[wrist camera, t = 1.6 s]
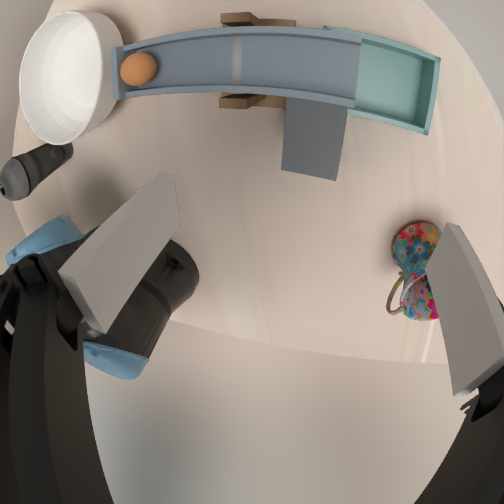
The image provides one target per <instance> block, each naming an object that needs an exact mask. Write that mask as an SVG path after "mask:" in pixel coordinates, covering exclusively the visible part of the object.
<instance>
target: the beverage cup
mask: <svg viewBox="0 0 504 504" xmlns="http://www.w3.org/2000/svg"><path fill="white" fill-rule="evenodd" d="M72 155H73V147H72V144H71V142H70V143H67V144H64V145H53V144H49V143H47V144H44V145H42V146H40V147H38V148H35V149H33V150H31V151H29V152H27V153H25V154H21V155H18V156H16V157H15V156H14V157H12V158H11V159H10V160H9V161H8V162H7V163H6V164H5V165H4V167H3V169H2V171H1V173H0V191H1V193H2V195H3V196H4V197H5V198H7V199H9V200H12V201H16V200H21V199H23V198H25V197H27V196H29V195H30V193H31V192H32V191H33V190H34V189H35V188H36V186H37V185H38V184H39V183H40V182H42V181H43V180H44V179H45V178H46V177H48V176H49V175H50V174H51V173H52V172H54V171H55V170H56V169H57V168H59V167H60V166H61V165H62V164H64V163H65V162H66V161H67V160H68V159H70V158H71V157H72Z"/></svg>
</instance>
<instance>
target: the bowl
mask: <svg viewBox="0 0 504 504" xmlns="http://www.w3.org/2000/svg"><path fill="white" fill-rule="evenodd" d="M120 46H124V44H123V40H122V37H121V34H120V32H119V30H118V28H117V26H116V25H115V23H114V22H113V21H112V20H111V19H110V18H109V17H107V16H105V15H103V14H101V13H97V12H91V11H81V10H70V11H64V12H60V13H58V14H56V15H54V16H52V17H50V18H49V19H48V20H46V21H45V22H44V23H43V24H42V25H41V26H40V27H39V28H38V29H37V31H36V32H35V33H34V35H33V37H32V38H31V40H30V42H29V44H28V46H27V48H26V50H25V53H24V56H23V59H22V63H21V68H20V76H19V95H20V101H21V106H22V110H23V113H24V116H25V118H26V120H27V122H28V124H29V126H30V127H31V129H32V130H33V132H34V133H35V134H36V135H37V136H38V137H39V138H40V139H42V140H43V141H45V142H46V143H49V144H53V145H64V144H67V143H70V142H72V141H74V140H76V139H77V138H79V137H81V136H83V135H84V134H86V133H88V132H89V131H91V130H92V129H94V128H96V127H98V126H99V125H100V124H101V123H102V122H103V121H104V120H105V119H106V118H107V116H108V115H109V114H110V112H111V111H112V109H113V107H114V105H115V103H116V101H117V100H115V101H114V96H113V84H112V67H111V48H114V47H120Z"/></svg>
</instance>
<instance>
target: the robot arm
mask: <svg viewBox="0 0 504 504" xmlns="http://www.w3.org/2000/svg"><path fill="white" fill-rule="evenodd" d="M179 227H180V220H179V213H178V205H177V196H176V188H175V178H174V174H163V173H159V174H158V175H157V176H155V177H154V178H153V179H152V180H151V181H149V182H148V183H147V184H146V185H145V186H144V187H142V188H141V189H140V190H139V191H138V192H137V193H135V194H134V195H133V196H132V197H131V198H130V199H129V200H127V201H126V202H125V203H124V204H123V205H122V206H121V207H120V208H119V209H118V210H116V211H115V212H114V213H113V214H112V215H111V216H110V217H109V218H108V219H107V220H106V221H105V222H104V223H103V224H102V225H99V226H98V227H96V228H94V229H93V230H91V231H90V232H88V233H87V234H86V235H85V234H82V233H81V231H80V230H79V229H78V228H77V226H76V225H75V224H74V223H73V221H72V220H71V219H70V218H69V217H67V216H58V217H56V218H54V219H52V220H51V221H49V222H48V223H46V224H45V225H43V226H42V227H40V228H39V229H37V230H36V231H35V232H33V233H32V234H31V235H29V236H28V237H27V238H25V239H24V240H23V241H22V242H21V243H19V244H18V245H17V246H16V247H15V248H14V249H13V250H12V251H10V252H9V253H8V254H7V256H6V261H7V264H8V265H10V267H9V268H8V269H7V270H6V272H5V273H4V274H3V275H0V504H114V503H113V500H112V497H111V494H110V491H109V489H108V485H107V482H106V479H105V476H104V472H103V469H102V465H101V461H100V458H99V454H98V450H97V445H96V441H95V436H94V432H93V426H92V421H91V415H90V409H89V403H88V395H87V387H86V378H85V366H84V361H85V362H87V363H89V364H90V365H92V366H94V367H95V368H97V369H99V370H101V371H103V372H105V373H108V374H110V375H112V376H115V377H118V378H121V379H126V380H132V379H135V378H137V377H138V376H139V375H140V373H141V372H142V370H143V368H144V367H145V365H146V363H147V362H148V361H149V357H150V355H151V353H152V351H153V349H154V347H155V345H156V343H157V341H158V339H159V337H160V335H161V333H162V331H163V329H164V327H165V325H166V323H167V321H168V319H169V317H170V316H171V314H172V313H173V312H174V311H175V310H176V309H177V308H178V307H179V306H181V305H182V304H183V303H184V302H185V301H186V300H187V299H189V298H190V297H191V296H192V294H193V293H194V291H195V289H196V287H197V285H198V281H199V274H198V270H197V267H196V265H195V263H194V261H193V260H192V258H191V257H190V256H189V255H188V254H187V252H186V251H185V250H183V249H182V248H181V247H180V246H179V245H177V244H176V243H174V242H173V241H171V240H170V239H171V237H172V236H173V235H174V233H175V232H176V231H177V229H178V228H179ZM425 272H426V275H427V278H428V281H429V284H430V288H431V291H432V294H433V298H434V301H435V305H436V308H437V312H438V316H439V320H440V324H441V328H442V333H443V337H444V342H445V347H446V352H447V357H448V363H449V369H450V375H451V382H452V390H453V396H464V395H468V394H470V393H471V392H472V391H474V390H475V389H476V388H478V390H479V394H478V395H477V396H475V397H474V398H472V399H471V400H469V401H468V402H467V403H465V404H464V405H462V407H461V408H460V410H463V409H465V408H466V407H467V406H469V405H470V408H469V409H467V410H466V411H465V412H464V413H465V414H467V415H466V417H465V419H464V422H463V424H462V426H461V428H460V430H459V432H458V434H457V436H456V438H455V440H454V442H453V444H452V446H451V448H450V449H449V451H448V453H447V455H446V457H445V458H444V460H443V462H442V463H441V465H440V467H439V468H438V470H437V472H436V473H435V475H434V476H433V478H432V479H431V481H430V482H429V484H428V485H427V487H426V488H425V489H424V491H423V492H422V494H421V495H420V497H419V498H418V499H417V500H416V502H415V503H414V504H504V307H503V304H502V303H501V302H500V300H499V299H498V297H497V296H496V293H495V291H494V289H493V287H492V284H491V282H490V280H489V278H488V276H487V274H486V272H485V270H484V268H483V266H482V264H481V262H480V260H479V258H478V257H477V255H476V253H475V251H474V249H473V248H472V246H471V244H470V242H469V241H468V239H467V237H466V236H465V234H464V232H463V231H462V229H461V227H460V226H458V225H455V224H451V223H448V222H447V224H446V226H445V228H444V230H443V233H442V235H441V237H440V239H439V241H438V243H437V245H436V247H435V249H434V251H433V253H432V255H431V257H430V259H429V261H428V263H427V265H426V267H425Z"/></svg>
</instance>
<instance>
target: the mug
mask: <svg viewBox="0 0 504 504" xmlns="http://www.w3.org/2000/svg"><path fill="white" fill-rule="evenodd" d="M441 235H442V234H441V232H440V231H439V229H438V228H436V227H435V226H434V225H432V224H429V223H415V224H412V225H410V226H408V227H406V228H404V229H403V230H402V231H401V232H400V233H399V234H398V235H397V237H396V238H395V240H394V242H393V245H392V257H393V259H394V261H395V262H396V264H397V265H398V266H399V267H401V269H402V272H399V275H401V276H400V278H399V279H398V280H397V282H396V283H395V285H394V286H393V288H392V290H391V292H390V294H389V297H388V300H387V305H386V309H387V311H388V313H390V314H392V315H395V314H398V313H400V312H401V311H402V312H403V313H404V314H405V315H406V316H407V317H409V318H411V319H414V320H418V321H428V320H433V319H437V318H439V316H438V312H437V308H436V305H435V301H434V298H433V294H432V291H431V288H430V284H429V281H428V278H427V275H426V272H425V267H426V265H427V263H428V261H429V259H430V257H431V255H432V253H433V251H434V249H435V247H436V245H437V243H438V241H439V239H440V237H441ZM403 279H404V286H403V291H402V294H401V297H400V307H399V308H398V309H396V310H394V311H391V310H390V305H391V301H392V298H393V296H394V294H395V292H396V290H397V288H398V286H399V285H400V284H401V282H402V281H403Z"/></svg>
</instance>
